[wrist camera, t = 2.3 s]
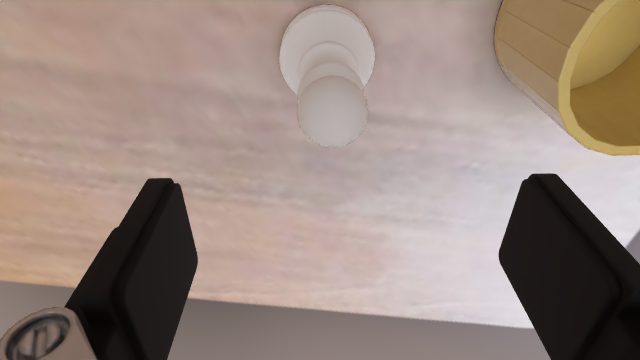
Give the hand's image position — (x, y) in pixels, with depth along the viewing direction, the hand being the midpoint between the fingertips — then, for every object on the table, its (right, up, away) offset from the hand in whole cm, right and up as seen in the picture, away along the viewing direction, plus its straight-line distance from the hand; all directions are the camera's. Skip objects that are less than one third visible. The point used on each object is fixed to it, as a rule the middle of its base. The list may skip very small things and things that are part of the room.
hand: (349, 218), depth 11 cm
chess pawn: (0, +8, +11) cm, 14 cm away
